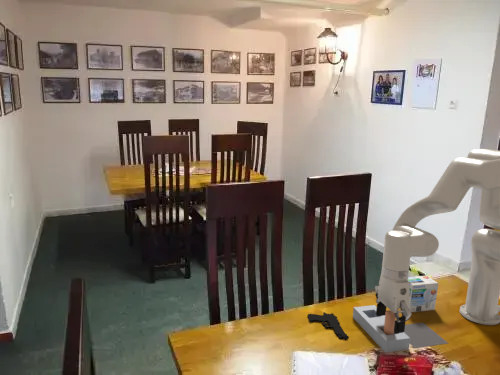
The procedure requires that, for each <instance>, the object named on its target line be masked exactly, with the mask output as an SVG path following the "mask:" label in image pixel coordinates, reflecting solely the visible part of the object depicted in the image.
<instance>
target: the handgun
mask: <svg viewBox="0 0 500 375" xmlns="http://www.w3.org/2000/svg"><path fill="white" fill-rule="evenodd" d="M307 318H308V322H309V323H315V322H316V323H322V327H323V328H324V329H326V330H328V329H330V330H333V332H334V333H335V335H336V336H337V337H338V339H339V340H343V341H348V340H349V337H350V336H349V335H348V334H347V333H345V331H344V329H343V327H342V326H341V323H340V321H339V319H338V316H336V315H335V314H334V312H331V313H326V312H323V314H322V315H321V314H315V313H308V314H307Z"/></svg>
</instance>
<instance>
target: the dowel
mask: <svg viewBox="0 0 500 375" xmlns="http://www.w3.org/2000/svg"><path fill="white" fill-rule="evenodd" d="M395 320H396V317H395V313H394V312H392V311H391V310H390V309H388V310H386V314H385V323H384V333H385V334H386V335H392V334H394V325H395Z"/></svg>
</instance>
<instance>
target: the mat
mask: <svg viewBox="0 0 500 375" xmlns="http://www.w3.org/2000/svg"><path fill="white" fill-rule="evenodd" d="M404 333H405V334H406V335H407V336H409V337H410V344H409V345H411V346H412V347H413V349H419V348H425V347H431V346H433V347H434V346H440V345H446V344H447V345H448V344H449V342H448V341H447V340H445V339H444V338H443V337H442V336H440V335H439V334H438V333H437V332H436V331H434V330H433V329H432V328H431V327H429V326H428V325H427V324H426V323H425V322H414V323H409V324H405V330H404Z"/></svg>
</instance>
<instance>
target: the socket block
mask: <svg viewBox="0 0 500 375" xmlns="http://www.w3.org/2000/svg"><path fill="white" fill-rule="evenodd" d="M376 309H377V305H375V304H373V305H363V306H362V305H361V306H353V310H352V319H354V320H355V321H356V322H357V323H358V325H359V326H360V328H362V329H363V330H364V331H365V332H366V333H367V334H368V335H369V337H370V338H371V339H372V340H373V341H374V342H375V343H376V345H378V346H379V348H381V350H382V351H383V352H384V353H389V352H390V353H392V352H398V351H405V350H410V345H411V344H410V337H409V336H407V335H406V334H405V333H404V332H403V333H396V334H395V333H394V334H392V335H386V334H385V333H384V323H385V315H384V316H377V315H376Z"/></svg>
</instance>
